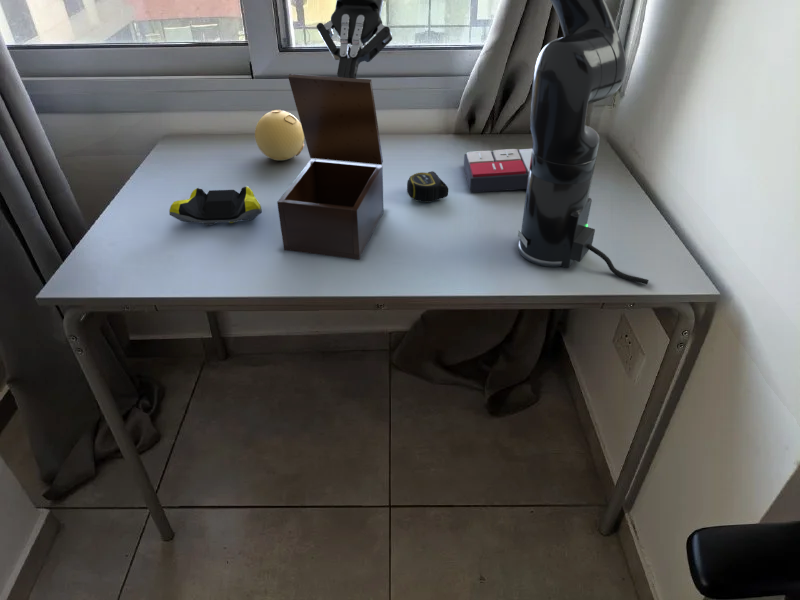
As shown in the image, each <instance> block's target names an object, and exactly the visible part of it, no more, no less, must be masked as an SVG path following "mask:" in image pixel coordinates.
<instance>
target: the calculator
mask: <svg viewBox="0 0 800 600" xmlns="http://www.w3.org/2000/svg"><path fill="white" fill-rule="evenodd" d="M531 153H532V148H521V149H518V148H507V149H506V148H505V149H494V150H493V151H492V150H478V151H467V152H466V153H464V154H463V169H464V174H465V177H466V181H467V185H468V189H469V192H470V193H485V192H497V191H498V192H499V191H513V190H526V191H527V183H528V175H529V168H530V161H531Z"/></svg>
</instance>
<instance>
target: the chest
mask: <svg viewBox="0 0 800 600" xmlns="http://www.w3.org/2000/svg"><path fill="white" fill-rule="evenodd" d="M383 171H384V169H383V165H380V164H369V163H359V162H348V161H338V160H327V159H317V158H310V160H308V162H307V163H306V165H305V166H304V168H302V170H301V171H300V172H299V174H298V175H297V176H296V177H295V178H294V180H293V181H292V182H291V184H289V186H288V187H287V189H285V191H284V193H282V195H281V196H280V197H279V198H278V200H277V201H276V203H277V210H278V217H279V224H280V225H279V226H280V231H281V239H282V246H283V251H287V252H294V253H295V252H296V253H304V254H310V255H311V254H312V255H319V256H328V257H336V258H344V259H352V260H360V259H361V257H363V256H362V255H363V254H364V252H365V249H366V248H367V245H368V244H369V242H370V240H371V238H372V236H373V233H374V231H375V230H376V229H377V226H378V224H379V222H380V220H381V218H382V216H383V214H384V211H385V210H384V174H383V173H384V172H383Z"/></svg>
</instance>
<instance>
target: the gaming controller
mask: <svg viewBox="0 0 800 600" xmlns="http://www.w3.org/2000/svg"><path fill="white" fill-rule="evenodd" d="M262 213H263V211H262V205H261V203H260V202H259V200H258V199H257V197H255V194H254V192H253V190H252V189H251V188H250V187H249V186H248V185H245V186H243V187H241V189H240V191H239V192H238V191H237V190H235V189H213V190H208V192H207V193H206V192H205V190H203V188H202V187H199V186H198V187H196V188H194V189H193V190H192V191H191V193H190V195H189V198H187V199H179V200H175V201H173V202H172V204H171V205H170V207H169V216H171V217H173V218H174V219H176V220H177V221H180V222H184V223H189V224H190V223H199V224H203V225H205V226H213V225H215V224H217V223H229V224H234V223H236V222H241V221H252V220H255V219H256V218H257V217H258V216H259V215H261V214H262Z"/></svg>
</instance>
